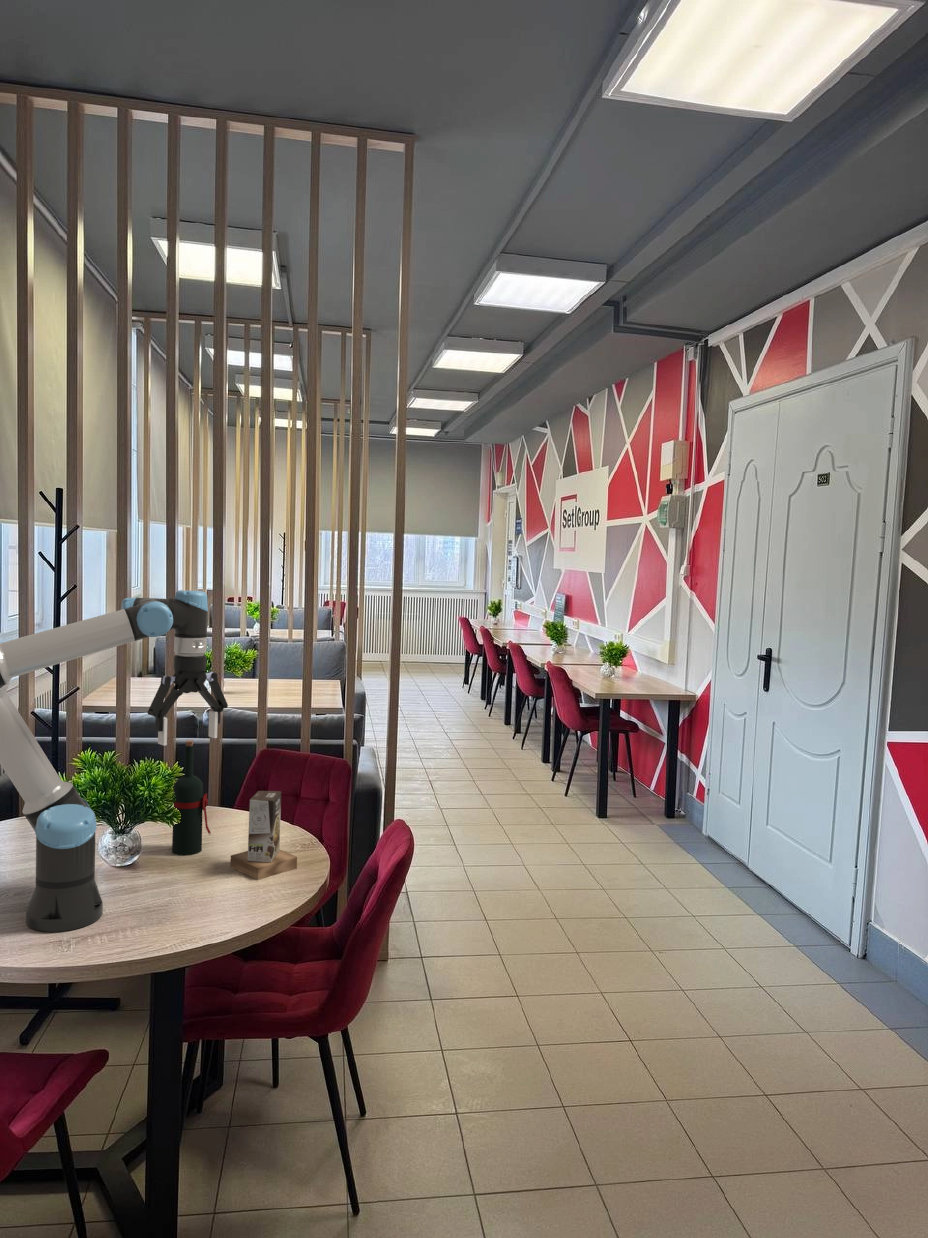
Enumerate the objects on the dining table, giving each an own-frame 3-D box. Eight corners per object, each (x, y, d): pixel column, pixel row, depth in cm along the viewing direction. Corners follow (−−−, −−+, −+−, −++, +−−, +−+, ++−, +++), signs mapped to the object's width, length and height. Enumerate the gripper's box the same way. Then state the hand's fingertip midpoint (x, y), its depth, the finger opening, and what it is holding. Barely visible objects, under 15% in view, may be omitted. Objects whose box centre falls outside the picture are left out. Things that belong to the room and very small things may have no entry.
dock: (257, 880, 209) (258, 868, 209) (230, 866, 217) (230, 855, 216) (296, 868, 218) (297, 856, 218) (268, 856, 226) (269, 845, 225)
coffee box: (272, 863, 212) (274, 800, 211) (246, 861, 212) (248, 799, 211) (280, 850, 222) (282, 790, 220) (256, 849, 222) (258, 789, 221)
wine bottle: (207, 856, 223) (209, 745, 221) (167, 855, 223) (170, 744, 221) (213, 846, 231) (216, 738, 229) (175, 845, 230) (178, 737, 228)
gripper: (150, 658, 191) (147, 750, 193) (243, 653, 210) (240, 736, 211) (133, 655, 196) (131, 744, 197) (226, 650, 215) (224, 732, 216)
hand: (188, 741), depth 204 cm, fingers open, 13 cm apart
